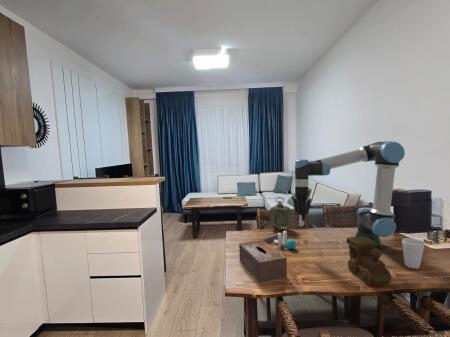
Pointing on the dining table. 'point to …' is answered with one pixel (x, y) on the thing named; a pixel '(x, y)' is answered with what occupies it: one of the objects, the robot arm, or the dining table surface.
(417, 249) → the foam cup
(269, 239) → the back wall
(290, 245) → the ball
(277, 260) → the tissue box cover
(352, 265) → the wooden toy train
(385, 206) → the robot arm
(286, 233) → the pin
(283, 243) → the front pin
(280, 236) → the pin
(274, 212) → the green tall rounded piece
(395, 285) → the dining table surface
